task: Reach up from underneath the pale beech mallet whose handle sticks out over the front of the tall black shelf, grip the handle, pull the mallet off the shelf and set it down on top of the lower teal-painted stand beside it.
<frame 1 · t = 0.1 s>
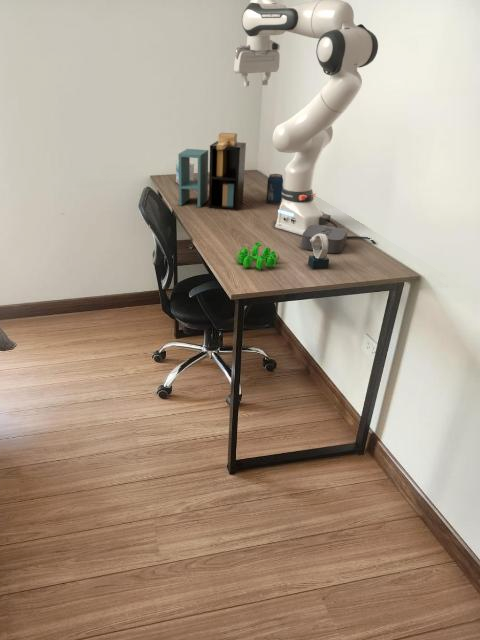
hand: (255, 85, 216), 48 cm above the table, tool pointing down, fingers open, 8 cm apart
shelf: (225, 205, 244), on the table
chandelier: (256, 264, 185), on the table
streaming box: (323, 246, 200), on the table
light bulb box: (185, 184, 277), on the table
stand: (193, 203, 248), on the table
watch: (317, 266, 183), on the table
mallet: (227, 144, 228), point 26 cm above the table, touching shelf
soda can: (273, 202, 249), on the table
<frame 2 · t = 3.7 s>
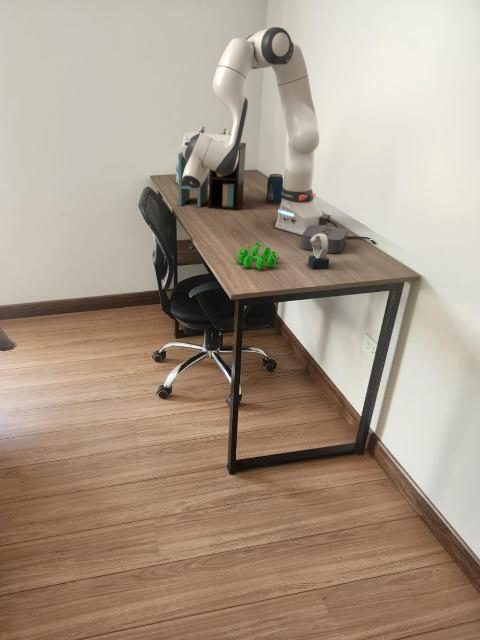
hand: (214, 129, 207), 35 cm above the table, tool pointing upward, fingers open, 8 cm apart
nothing on the table moved.
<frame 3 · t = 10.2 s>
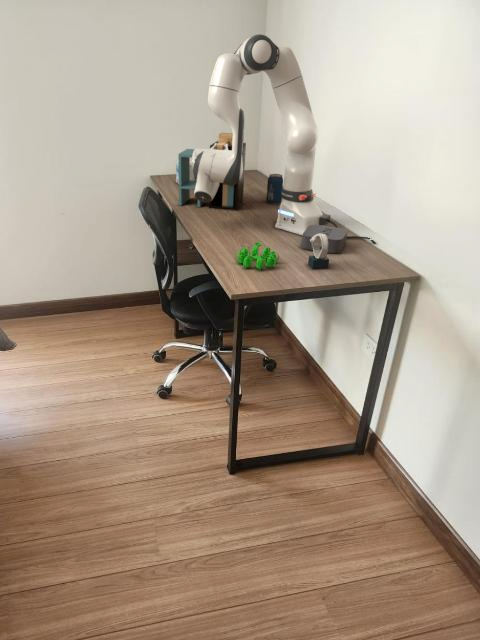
hand: (221, 144, 220), 27 cm above the table, tool pointing upward, fingers closed on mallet, 2 cm apart
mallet: (227, 144, 228), point 26 cm above the table, touching gripper, shelf
everything else where it was.
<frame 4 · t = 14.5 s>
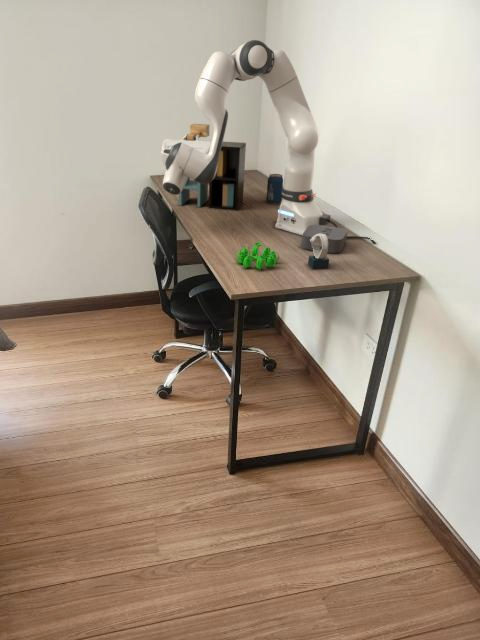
hand: (192, 135, 214), 32 cm above the table, tool pointing upward, fingers closed on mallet, 2 cm apart
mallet: (199, 135, 222), point 30 cm above the table, touching gripper
everything else where it was.
when the fingers open (23 cm above the table, at t = 19.1 s): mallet stays where it is, resting on stand.
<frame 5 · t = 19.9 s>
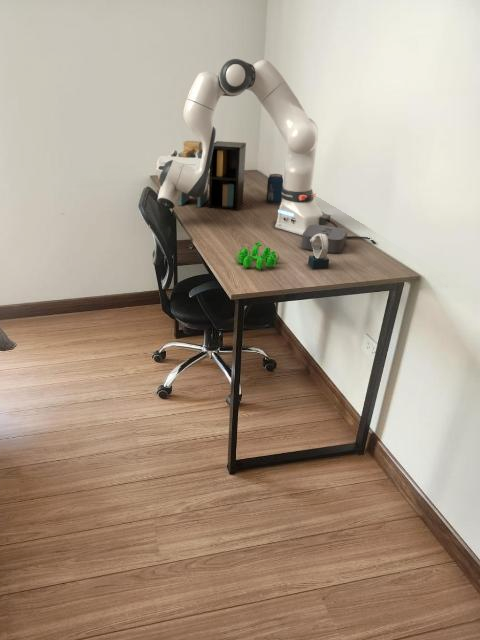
hand: (185, 152, 226), 24 cm above the table, tool pointing upward, fingers open, 8 cm apart
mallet: (192, 152, 235), point 22 cm above the table, touching stand
everything else where it was.
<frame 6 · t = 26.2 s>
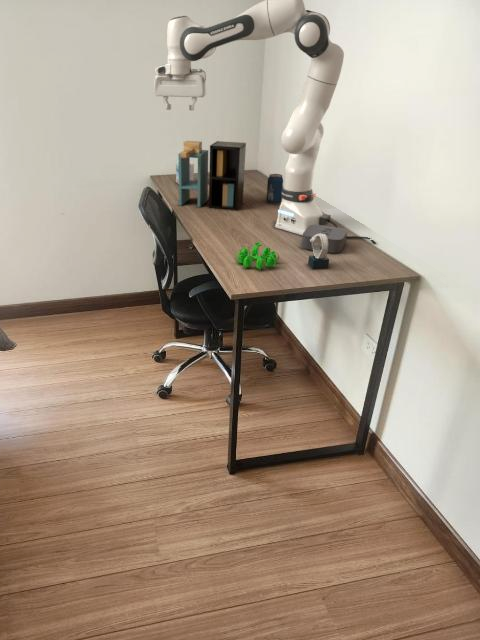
hand: (180, 109, 209), 41 cm above the table, tool pointing down, fingers open, 8 cm apart
nothing on the table moved.
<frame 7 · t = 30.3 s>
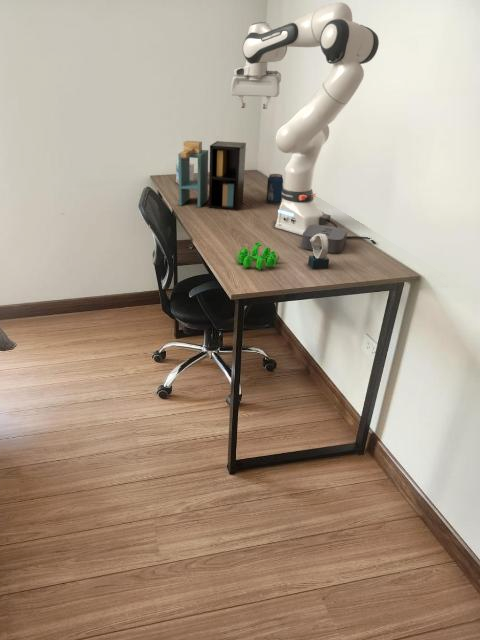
hand: (254, 108, 227), 39 cm above the table, tool pointing down, fingers open, 8 cm apart
nothing on the table moved.
at the end: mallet inside the target area on the stand (0.3 cm from its centre), point 22.0 cm above the stand's base; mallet tilted 0°; the gripper is holding nothing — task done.
